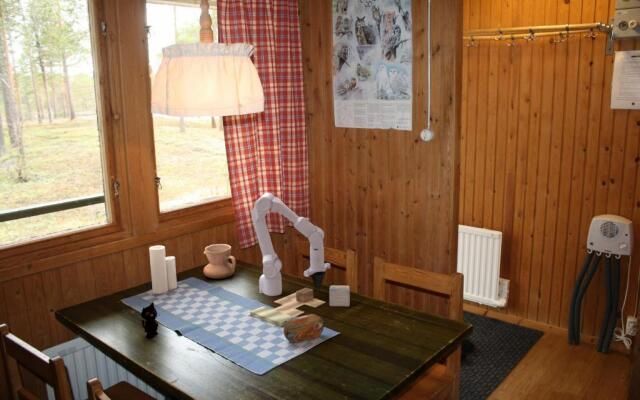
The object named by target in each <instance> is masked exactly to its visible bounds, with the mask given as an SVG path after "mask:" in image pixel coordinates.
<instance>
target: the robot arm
mask: <svg viewBox="0 0 640 400" xmlns="http://www.w3.org/2000/svg"><path fill="white" fill-rule="evenodd" d="M269 211H270V212H271V213H280V214H281V215H282V216H283V217H285V218H286V219H288V220H289V221H290V222H292V224H294V229H296V230H297V231H298V232H299V233H300V234H302V235H303V236H304V237H305V238H308V242H309V243H310V244H309V245H310V247H309V255H310V256H309V261H310V262H309V263H310V265H309V267H308V269H306V270H304V271H303V276H304V277H307V278H308V277H309V276H310V278H311V280H312V283H313V285H314V289H315V290H320V289H322V288H321V287H322V284H323V280H324V278H325V275H326V274H327V273H326V272H327V271H326V270H327V269H331V263H329V262H326V263H325V254H324V252H325V247H324V246H325V245H324V238H325V232H324V230H323V229H322V228H321V227H318V226H317V225H315V224H313V223H312V222H311V221H310V218H308V217H304V216H298V214H296V213H295V212H294V211H293V210H292V209H291V208H289V207H288V205H286V204H285V203H284V202H283V201H282V200H281V199H280V198H279V197H277V196H275V195H274V194H273V193H271V192H266V193H264V194H262V195H261V196H260V197H258V199H257V200H256V201H255V202H254V204H253V210H252V212H251V213H252V214H251V220H252V224H253V227H254V230H255V234H256V237H257V241H258V245H259V248H260V252H261V255H262V266H263V268H262V274H261V275H260V277H259V282H258V287H259V294H264V295H266V296H270V297H273V296H274V297H275V296H279V295H282V291H283V286H282V284H283V283H282V273H281V272H280V271H281V269H282V267H283V264H282V261H281V260H280V259H279V257H278V255H277V253H276V252H275V249H274V246H273V243H272V239H271V235H270V232H269V230H268V225H267V223H266V219H265V217H266V215H267V214H268V212H269Z"/></svg>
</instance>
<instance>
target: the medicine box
mask: <svg viewBox="0 0 640 400" xmlns="http://www.w3.org/2000/svg"><path fill="white" fill-rule="evenodd" d="M328 290H329V307H350V303H351V302H350V298H351V297H350V296H351V295H350V294H351V291H350V285H334V284H333V285H330V286H329V289H328Z"/></svg>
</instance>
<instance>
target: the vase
mask: <svg viewBox="0 0 640 400" xmlns="http://www.w3.org/2000/svg"><path fill="white" fill-rule="evenodd" d="M148 251H149V260H150V261H149V263H150V275H151V285H152V288H151V289H152V293H153V294H157V295H161V294H165V293H167V292H168V291H169V290H170V291H171V290H174V289H176V288H178V283H177V282H178V281H177V272H176V271H177V270H176V268H177V267H176V257H175V256H174V255H173V256H172V255H171V256H166V247H165V246H164V245H154V246H153V245H151V246H150V247H149V248H148Z"/></svg>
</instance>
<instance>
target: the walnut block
mask: <svg viewBox="0 0 640 400" xmlns="http://www.w3.org/2000/svg"><path fill="white" fill-rule="evenodd" d="M295 293H296V301H299V302H302V303H305V302H307V301H309V300H312V299H313V298H314V289H313V288H309V287H304V288H302V289H299V290H297V291H296V292H295Z"/></svg>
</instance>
